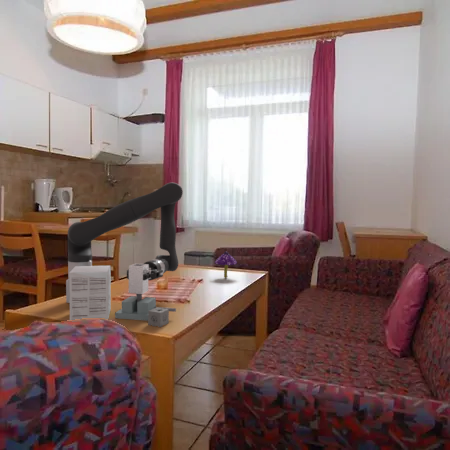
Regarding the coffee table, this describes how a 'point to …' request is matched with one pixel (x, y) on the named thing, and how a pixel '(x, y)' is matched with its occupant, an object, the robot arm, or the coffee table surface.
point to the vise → (137, 307)
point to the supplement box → (90, 292)
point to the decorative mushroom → (226, 261)
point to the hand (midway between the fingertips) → (136, 277)
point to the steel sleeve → (138, 279)
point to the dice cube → (158, 317)
